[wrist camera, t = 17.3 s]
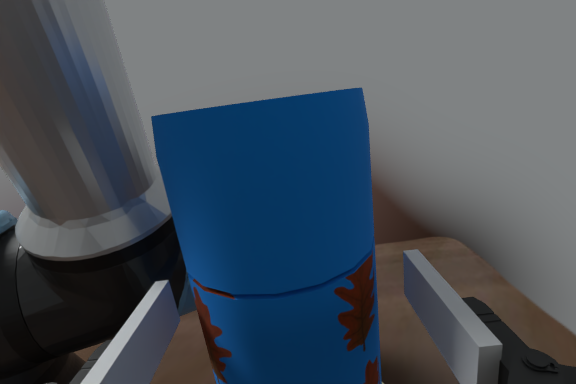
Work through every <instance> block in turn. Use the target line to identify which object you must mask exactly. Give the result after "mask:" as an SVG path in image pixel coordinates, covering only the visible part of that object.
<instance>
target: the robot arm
mask: <svg viewBox="0 0 576 384" xmlns="http://www.w3.org/2000/svg"><path fill="white" fill-rule="evenodd" d="M0 167H1V168H2V170H3V171H4V172H5V174H6V175H7V177H8V178H9V180H10V181H11V183H12V184H13V186H14V187H15V189H16V190H17V192H18V193H19V194H20V196H21V198H22V199H23V200H24V202H25V203H26V206H25V208H24V210H23V211H22V213H21V215H20V217H19V218H18V220H17V219H16V218H15V217H13V216H12V215H11V214H10V213H9V212H8V211H5V210H0V384H150V382H151V380H152V378H153V376H154V374H155V371H156V369H157V367H158V365H159V363H160V361H161V359H162V357H163V355H164V353H165V351H166V349H167V347H168V345H169V343H170V341H171V339H172V337H173V335H174V333H175V331H176V328H177V326H178V324H179V322H180V316H182V315H185V314H187V313H190V312H192V311H195V310H197V308H196V304H195V300H194V296H193V293H192V289H191V285H190V281H189V278H188V272H187V270H186V266H185V262H184V259H183V255H182V251H181V247H180V244H179V240H178V236H177V232H176V228H175V225H174V221H173V217H172V213H171V210H170V206H169V202H168V198H167V194H166V191H165V187H164V183H163V179H162V176H161V172H160V168H159V165H157V164H155V162H154V158H153V155H152V152H151V149H150V146H149V142H148V139H147V136H146V133H145V130H144V126H143V123H142V120H141V117H140V114H139V110H138V108H137V104H136V101H135V98H134V95H133V92H132V88H131V85H130V82H129V79H128V75H127V72H126V69H125V66H124V63H123V59H122V56H121V53H120V50H119V47H118V43H117V40H116V37H115V34H114V31H113V27H112V24H111V21H110V18H109V15H108V11H107V8H106V5H105V2H104V0H0ZM403 257H404V294H405V296H406V297H407V299H408V300H409V302H410V304H411V305H412V307H413V309H414V310H415V312H416V313H417V315H418V317H419V318H420V320H421V322H422V323H423V325H424V326H425V328H426V330H427V331H428V333H429V335H430V336H431V338H432V339H433V341H434V343H435V344H436V346H437V347H438V349H439V351H440V352H441V354H442V356H443V357H444V359H445V360H446V362H447V364H448V365H449V367H450V369H451V370H452V372H453V373H454V375H455V377H456V378H457V380H458V381H459V383H460V384H576V367H572V366H565V365H561V364H558V363H557V362H556V360H554V359H553V358H551V357H550V356H549V355H547V354H545V353H543V352H540V351H538V350H535V349H530V348H529V347H528V346H527V345H526V344H525V343H524V342H523V341H522V340H521V339H520V338H519V337H518V336H517V335H516V334H515V333H514V332H513V331H512V330H511V329H510V328H509V327H508V326H507V325H506V324H505V323H504V322H502V321H501V319H500V318H499V317H498V316H497V315H496V314H494V312H493V311H492V310H491V309H490V308H489V307H488V306H487V305H486V304H485V303H483V302H481V301H480V300H478V299H476V298H474V297H468V298H461V297H460V296H459V295H458V294H457V293H456V292H455V291H454V290H453V289H452V287H451V286H450V285H449V284H448V283H447V282H446V281H445V280H444V278H443V277H442V276H441V275H440V274H439V273H438V272H437V271H436V270H435V268H434V267H433V266H432V265H431V264H430V263H429V262H428V261H427V259H426V258H425V257H424V256H423V255H422V254H421V253H420V252H419V251H418V249H416V250H408V251H403ZM103 342H104V343H103ZM100 343H103V344H102V345H101V346H99V347H98V348H97V349H96V350H95V351H94V352H93V354H92V355H91V356H90V358H89V359H88V361H87V362H85V361H84V360H83V359H81V358H80V357H79V356H78V355H76V354H75V353H74V352H75V351H78V350H81V349H84V348H88V347H91V346H94V345H97V344H100Z"/></svg>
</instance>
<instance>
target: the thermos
mask: <svg viewBox="0 0 576 384" xmlns="http://www.w3.org/2000/svg"><path fill="white" fill-rule="evenodd" d="M151 118H152V126H153V134H154V141H155V149H156V157H157V161H158V164H159V168H160V172H161V176H162V179H163V183H164V187H165V191H166V194H167V198H168V202H169V206H170V210H171V213H172V217H173V221H174V225H175V228H176V232H177V236H178V240H179V244H180V247H181V251H182V255H183V259H184V262H185V266H186V270H187V272H188V278H189V281H190V285H191V289H192V293H193V296H194V300H195V304H196V308H197V312H198V315H199V319H200V323H201V327H202V330H203V334H204V338H205V342H206V345H207V349H208V353H209V357H210V361H211V364H212V368H213V372H214V376H215V379H216V383H217V384H382V380H381V361H380V341H379V321H378V301H377V282H376V262H375V242H374V223H373V203H372V183H371V164H370V144H369V125H368V118H367V113H366V107H365V101H364V96H363V91H362V88H353V89H344V90H336V91H329V92H321V93H313V94H305V95H298V96H291V97H283V98H276V99H268V100H261V101H254V102H247V103H240V104H232V105H225V106H218V107H211V108H203V109H196V110H190V111H183V112H176V113H170V114H163V115H157V116H152V117H151Z"/></svg>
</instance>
